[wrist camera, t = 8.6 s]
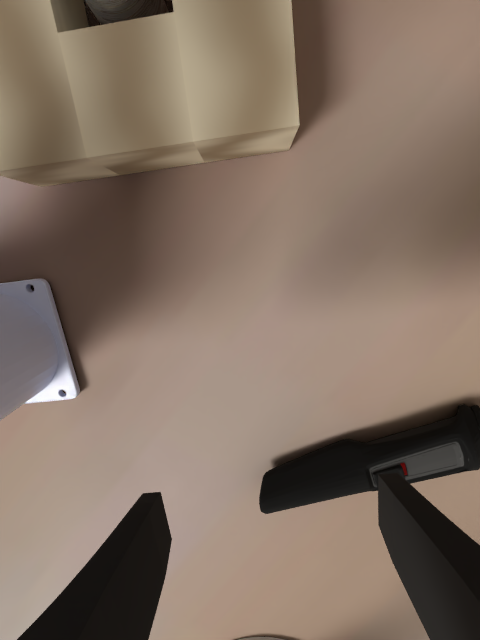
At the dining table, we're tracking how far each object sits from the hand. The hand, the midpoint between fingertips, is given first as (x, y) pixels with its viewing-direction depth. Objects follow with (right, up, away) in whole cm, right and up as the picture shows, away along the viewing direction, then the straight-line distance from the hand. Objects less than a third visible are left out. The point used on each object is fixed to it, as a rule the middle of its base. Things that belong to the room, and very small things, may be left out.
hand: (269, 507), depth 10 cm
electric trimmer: (+8, -3, +11) cm, 14 cm away
